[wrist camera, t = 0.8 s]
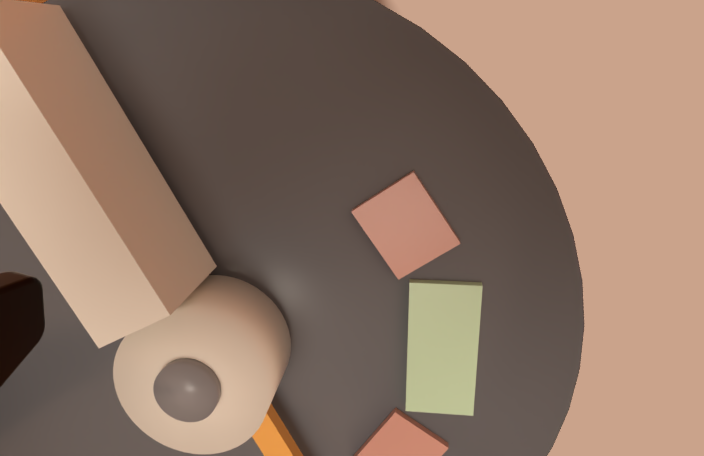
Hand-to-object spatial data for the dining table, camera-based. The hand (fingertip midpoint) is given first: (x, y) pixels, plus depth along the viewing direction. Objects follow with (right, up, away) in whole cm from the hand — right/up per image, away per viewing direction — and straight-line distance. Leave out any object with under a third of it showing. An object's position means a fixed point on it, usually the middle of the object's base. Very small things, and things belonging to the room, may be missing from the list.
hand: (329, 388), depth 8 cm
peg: (-5, -1, +13) cm, 13 cm away
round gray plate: (-4, -1, +14) cm, 15 cm away
